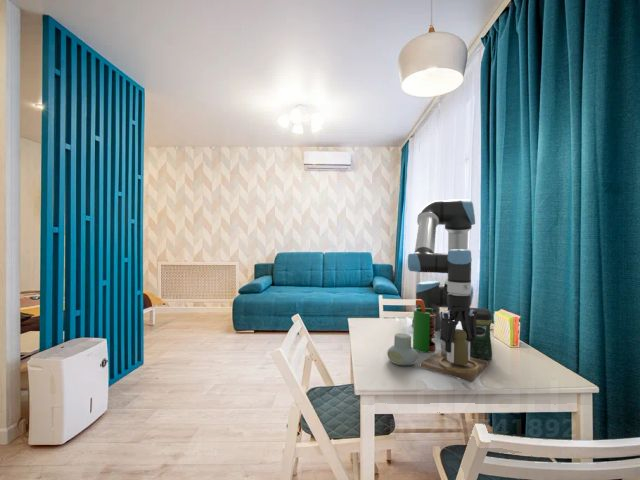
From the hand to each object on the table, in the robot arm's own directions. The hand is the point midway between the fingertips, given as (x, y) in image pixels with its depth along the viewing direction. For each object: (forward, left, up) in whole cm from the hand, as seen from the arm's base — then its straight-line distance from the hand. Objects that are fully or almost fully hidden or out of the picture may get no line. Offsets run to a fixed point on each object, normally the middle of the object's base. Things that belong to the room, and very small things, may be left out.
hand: (458, 360), depth 111 cm
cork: (0, 0, -1) cm, 1 cm away
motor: (-12, -18, -3) cm, 22 cm away
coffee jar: (-18, +1, -3) cm, 18 cm away
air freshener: (+8, -17, -3) cm, 19 cm away
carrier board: (-2, -2, -3) cm, 4 cm away
